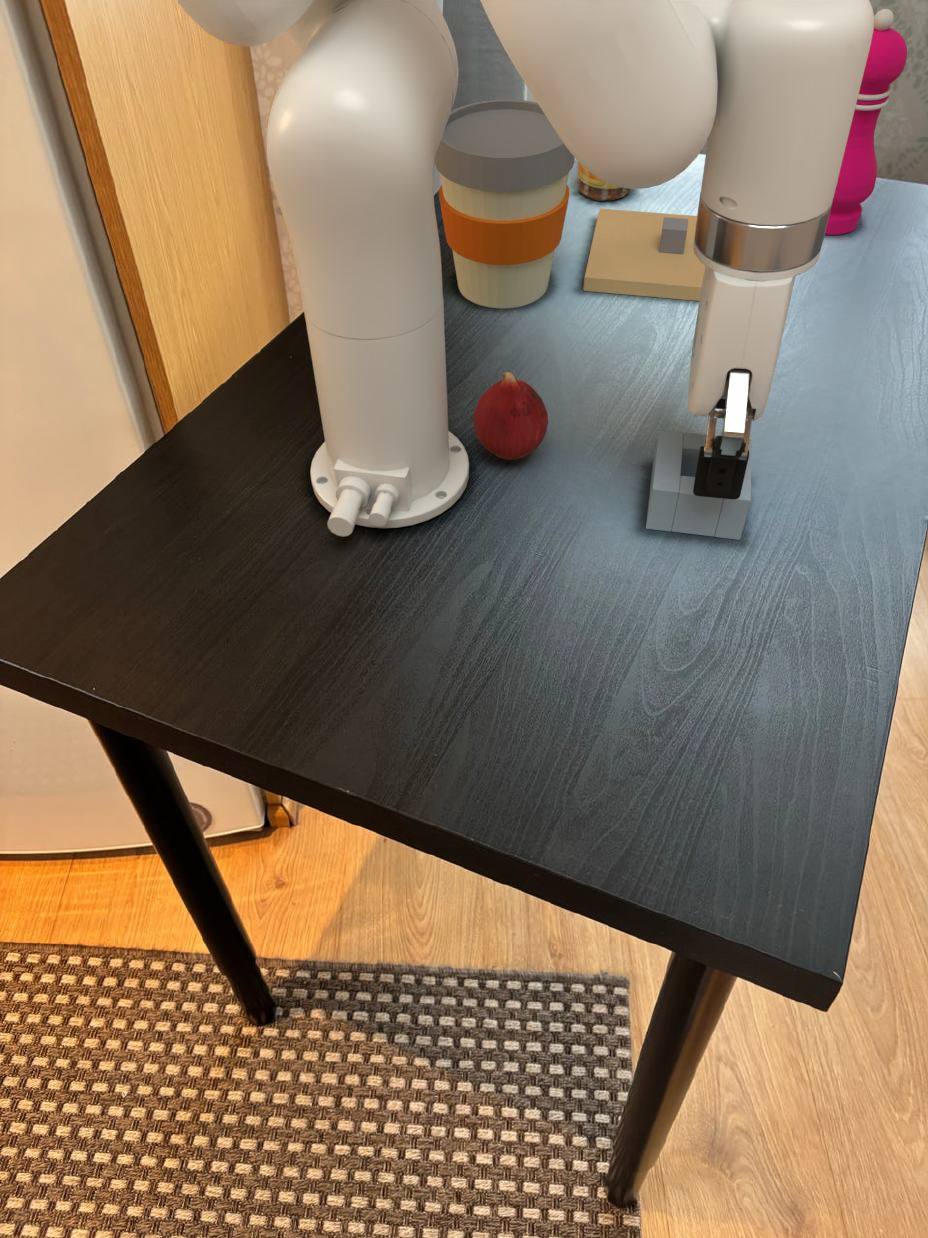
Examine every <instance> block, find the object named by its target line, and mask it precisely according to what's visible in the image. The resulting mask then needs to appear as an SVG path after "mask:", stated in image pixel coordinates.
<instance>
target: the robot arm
mask: <svg viewBox="0 0 928 1238" xmlns="http://www.w3.org/2000/svg"><path fill="white" fill-rule="evenodd" d="M479 1H480V3H481V5H482V8H483V10H484V12H485V14H486V16H487V18H488V20H489V22H490V24H491V26H492V28H493V30H494V32H495V34H496V36H497V38H498V40H499V41H500V44H501V46H502V47H503V49H504V51H505V53H506V54H507V56H508V58H509V59H510V61H511V63H512V65H513V66H514V69H515V70H516V72H517V73H518V75H519V76H520V78H521V79H522V81H523V83H524V85H525V86H526V88H527V89H528V91H529V92H530V93H531V95H532V97H533V99H534V100H535V102H537V103H538V104H539V106H540V108H541V109H542V111H543V112H544V114H545V115H546V117H547V119H548V120H549V122H550V123H551V125H552V126H553V128H554V130H555V131H556V133H557V134H558V136H559V137H560V139H561V140H562V142H563V143H564V145H565V146H566V147H567V149H568V150H569V151H570V152H571V154H572V155H573V156H574V159H575V160H576V161H577V162H579V163H580V164H582V165H583V166H584V167H585V168H586V169H587V170H588V171H589V172H590V173H592V174H593V175H595V176H596V177H598V178H599V179H601V180H603V181H604V182H607V183H609V184H612V185H614V186H617V187H623V188H629V189H631V190H640V189H643V190H644V189H649V188H654V187H657V186H661V185H663V184H665V183H668V182H669V181H672V180H673V179H675V178H676V177H677V176H679V175H680V174H682V173H683V172H684V171H685V170H687V169H688V167H690V165H691V164H692V163H693V162H694V161H695V160H696V159H697V158H698V157H699V155H700V153H701V152H702V151H703V149H704V147H705V145H706V150H705V158H704V165H703V172H702V180H701V185H700V186H701V187H700V188H701V189H700V192H699V199H698V207H697V215H696V216H697V221H696V228H695V237H694V243H693V249H694V253H695V255H696V256H697V258H698V259H699V260H700V261H701V262H702V263H703V264H704V265H705V271H704V277H703V282H702V288H701V295H700V301H698V309H697V314H696V322H695V328H694V334H693V335H694V336H693V340H692V345H691V353H690V365H689V378H688V392H687V410H688V412H689V413H690V415H692V416H693V417H696V418H697V417H705V418H707V424H706V432H705V435H706V439H705V446H700V451H699V457H698V463H697V469H696V475H695V481H694V487H693V493H694V495H696V496H701V497H712V498H723V499H738V498H739V497H740V495H741V490H742V486H743V481H744V477H745V472H746V467H747V463H748V458H749V450H748V446H749V439H751V431H752V422H755V421H756V420H758V419H760V418H761V417H762V416H764V412H765V410H766V407H767V403H768V400H769V395H770V392H771V387H772V383H773V380H774V375H775V371H776V368H777V363H778V359H779V355H780V349H781V347H782V341H783V336H784V332H785V328H786V323H787V318H788V313H789V310H790V304H791V299H792V296H793V289H794V285H795V280H796V276H801V275H802V274H803V273H806V272H808V271H809V270H811V269H812V268H813V267H814V266H815V265H816V263H817V262H818V261H819V259H820V255H821V252H822V247H823V244H824V240H825V231H826V227H827V223H828V219H829V215H830V211H831V206H832V201H833V197H834V194H835V189H836V186H837V182H838V177H839V173H840V169H841V164H842V160H843V156H844V152H845V148H846V144H847V140H848V136H849V131H850V127H851V123H852V119H853V115H854V111H855V107H856V103H857V99H858V95H859V90H860V86H861V82H862V78H863V74H864V70H865V66H866V62H867V58H868V53H869V49H870V45H871V40H872V35H873V30H874V16H875V13H874V9H873V6H872V3H871V1H870V0H479ZM176 2H177V3H178V4H179V6H180V7H181V8H182V9H183V11H184V12H185V13H186V14H187V15H188V16H189V17H190V19H191V20H192V21H193V22H194V23H195V24H197V25H198V26H199V27H200V28H201V29H202V30H204V31H205V33H207V34H208V35H210V36H212V37H213V38H216V39H217V40H219V41H220V42H223V43H225V44H228V45H233V46H237V47H245V48H247V47H255V46H259V45H263V44H266V43H270V42H272V41H274V40H275V39H277V38H279V37H281V36H282V35H283V34H285V33H286V35H287V36H288V38H289V39H290V41H291V42H292V44H293V45H294V47H295V49H296V50H297V51H298V53H299V54H298V55H297V57H296V58H295V59H294V61H293V62H292V64H291V65H290V67H289V68H288V69H287V72H285V75H284V77H283V78H282V80H281V82H280V84H279V86H278V89H277V90H276V93H275V96H274V98H273V102H272V105H271V109H270V112H269V116H268V121H267V129H266V158H267V165H268V170H269V176H270V179H271V182H272V187H273V190H274V193H275V196H276V199H277V202H278V205H279V208H280V211H281V214H282V217H283V220H284V223H285V227H286V230H287V233H288V237H289V238H288V239H289V241H290V245H291V249H292V254H293V259H294V264H295V269H296V274H297V280H298V286H299V292H300V297H301V303H302V310H303V313H304V319H305V323H306V324H305V326H306V332H307V337H308V343H309V349H310V357H311V362H312V369H313V374H314V381H315V387H316V393H317V394H316V395H317V401H318V407H319V412H320V417H321V418H320V419H321V425H322V431H323V437H324V442H323V443H321V445H320V446H319V448H318V449H317V450H316V452H315V454H314V456H313V458H312V461H311V465H310V480H311V486H312V489H313V493H314V495H315V497H316V499H317V500H318V502H319V504H321V505H322V507H323V508H324V509H326V510H327V512H329V513H330V515H329V517H328V520H327V523H326V524H327V528H328V530H329V531H330V532H331V533H332V534H334V535H336V536H338V537H342V538H343V537H349V536H350V535H351V534H352V533H353V532H354V529H355V527H356V525H357V526H362V527H366V528H374V529H375V528H377V529H396V528H397V529H398V528H399V529H400V528H404V527H408V526H409V527H410V526H415V525H417V524H420V523H424V522H426V521H427V522H428V521H430V520H431V519H433V518H436V517H438V516H440V515H441V514H443V513H444V512H445V511H447V510H448V509H450V508H451V507H453V506H454V505H455V503H456V502H457V501H458V500H459V499H461V497H462V495H463V493H464V492H465V490H466V488H467V486H468V483H469V479H470V462H469V461H470V460H469V455H468V453H467V450H466V448H465V446H464V444H463V443H462V442H461V440H460V439H459V438H458V437H457V436H456V435H454V433H452V432H451V431H450V430H449V411H448V385H447V383H448V381H447V359H446V333H445V332H446V331H445V306H444V305H445V304H444V295H443V294H444V293H443V271H442V269H443V268H442V267H443V266H442V253H441V244H440V243H441V242H440V235H439V229H438V228H439V227H438V222H437V221H438V220H437V215H436V208H435V195H434V176H435V175H434V174H435V157H436V153H437V150H438V147H439V144H440V142H441V139H442V136H443V133H444V129H445V126H446V124H447V121H448V119H449V116H450V114H451V111H453V107H454V104H455V101H456V96H457V91H458V86H459V60H458V53H457V49H456V45H455V41H454V39H453V36H452V33H451V31H450V28H449V26H448V24H447V21H446V19H445V16H444V15H443V13H442V11H441V8H440V7H439V5H438V3H437V1H436V0H176ZM718 419H719V420H720V419H721V420H723V423H722V424H723V425H722V429H721V434H720V435H716V432H717V431H716V429H717V423H718V422H717V421H718ZM715 436H717V437H716V438H715ZM714 439H715V440H714Z"/></svg>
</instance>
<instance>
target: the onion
mask: <svg viewBox="0 0 928 1238" xmlns="http://www.w3.org/2000/svg"><path fill="white" fill-rule="evenodd" d="M502 375H503V378H502V379H501V380H499V381H496V382H494V383H493V384H491V386H489V387H488V388H487V389H486V390H485V391H483V393H482V394H481V396H480V398H479V400H478V401H477V404H476V405H475V408H474V411H473V417H472V420H473V428H474V433H475V435H476V436H475V437H476V438H477V439H478V441H479V442H480V444H482V446H483V447H484V449H485V450H486V451H488V452H490V453H491V454H493V455H494V456H496V457H497V458H500V459H504V460H511V461H512V460H518V459H521V458H524V457H526V456H527V455H530V454H531V453H532V452H533V451H535V450H536V449H538V448H539V446H540V445H541V443H542V442H543V441H544V439H545V435H546V433H547V430H548V425H549V416H548V415H549V414H548V411H547V408H546V404H545V402H544V401H543V399H542V397H541V396H540V394H538V392H537V391H536V390H535V389H534V388H533V387H532V385H530V384H529V383H528V382H527V381H524V380H521V379H518V378H517V377H515V375H514V373H512V372H510V371H504V372H503V374H502Z"/></svg>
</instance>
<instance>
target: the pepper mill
mask: <svg viewBox="0 0 928 1238" xmlns="http://www.w3.org/2000/svg"><path fill="white" fill-rule="evenodd" d="M894 20H895V15H894V13H893V11H892V10H891V9H889V8H883V9H879V11H877V12H876V13H875V14H874V30H873V35H872V40H871V45H870V49H869V53H868V58H867V62H866V66H865V70H864V74H863V78H862V82H861V86H860V90H859V95H858V99H857V103H856V107H855V111H854V115H853V119H852V123H851V127H850V131H849V136H848V140H847V144H846V148H845V152H844V156H843V160H842V164H841V169H840V173H839V177H838V182H837V186H836V189H835V194H834V197H833V201H832V206H831V211H830V215H829V219H828V223H827V227H826V231H825V235H827V236H840V235H845V234H848V233H851V232H853V231H854V230H856V229H857V228H858V225H859V222H860V219H861V216H862V213H863V206H862V205H861V204H862V203H863V202H865V201H866V200H867V199H868V198H870V196H871V195H872V194H873V193H874V190H875V187H876V181H877V178H878V177H877V176H878V164H877V163H878V162H877V158H876V157H877V156H876V152H875V132H876V127H877V123H878V119H879V117H880V114H881V111H882V109H883V108H884V107H886V106H887V105H888V104H889V102H890V99H889V98H890V95H891V94H892V92H893V91H892V90H893V89H892V86H891V84H892V83H893V82H895V81H896V80H897V79H898V78H899V77H900V76H901V74H902V73H903V72H904V69H905V67H906V64H907V59H908V46H907V42H906V40H905V39H904V37H903V35H902V34H901V33H900V32H899V31H897V30H895V29H894V28H891V27H892V25H893V24H894ZM825 235H824V236H825Z"/></svg>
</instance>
